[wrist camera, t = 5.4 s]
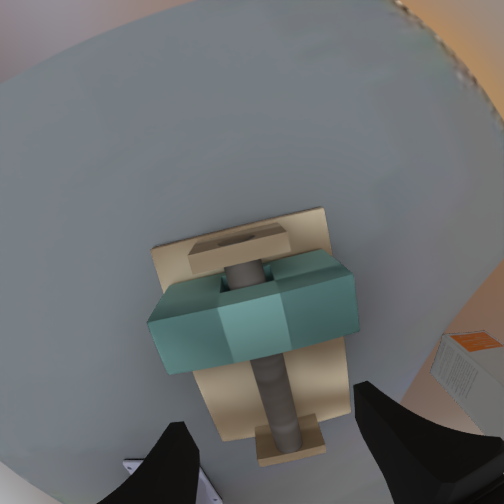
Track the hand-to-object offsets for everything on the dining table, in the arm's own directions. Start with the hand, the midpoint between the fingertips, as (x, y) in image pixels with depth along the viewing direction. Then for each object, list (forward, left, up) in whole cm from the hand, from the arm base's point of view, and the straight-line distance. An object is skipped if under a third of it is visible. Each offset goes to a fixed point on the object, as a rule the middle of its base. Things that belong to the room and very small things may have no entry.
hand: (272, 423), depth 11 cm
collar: (+3, 0, -9) cm, 9 cm away
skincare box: (-9, -17, -10) cm, 22 cm away
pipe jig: (-2, 0, -10) cm, 10 cm away
